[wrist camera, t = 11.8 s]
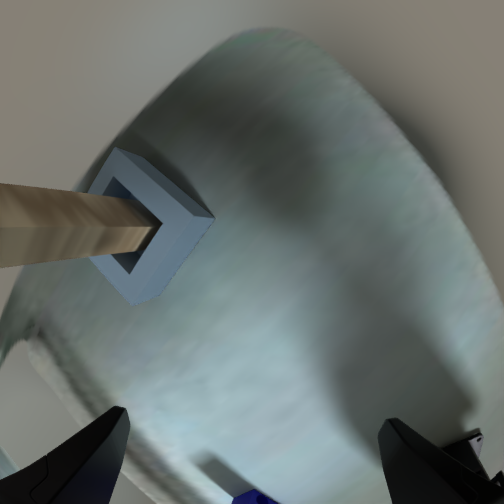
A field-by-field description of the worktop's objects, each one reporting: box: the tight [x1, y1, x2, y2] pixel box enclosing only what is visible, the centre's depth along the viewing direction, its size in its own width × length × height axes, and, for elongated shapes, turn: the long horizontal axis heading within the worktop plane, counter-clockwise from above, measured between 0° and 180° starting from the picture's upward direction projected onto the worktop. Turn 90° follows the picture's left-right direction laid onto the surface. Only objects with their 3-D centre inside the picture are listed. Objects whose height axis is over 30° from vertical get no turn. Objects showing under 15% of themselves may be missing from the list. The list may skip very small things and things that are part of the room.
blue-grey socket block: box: [87, 147, 215, 306], centre depth 19 cm, size 8×7×4 cm
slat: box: [0, 183, 163, 268], centre depth 14 cm, size 3×2×13 cm, turn 50°
